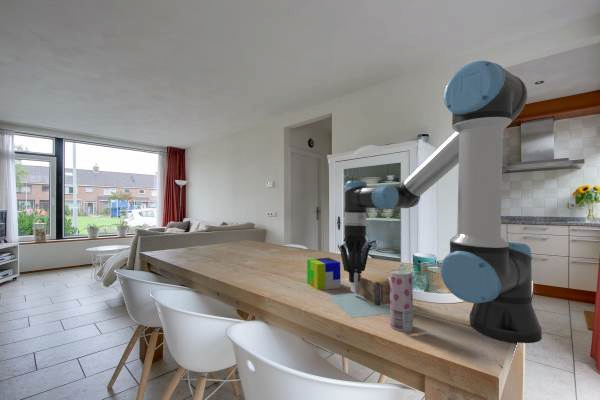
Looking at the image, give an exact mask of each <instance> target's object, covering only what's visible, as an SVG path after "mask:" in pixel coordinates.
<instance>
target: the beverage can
mask: <svg viewBox="0 0 600 400" xmlns="http://www.w3.org/2000/svg"><path fill="white" fill-rule="evenodd" d="M389 283H390V313H389V326H390V328H391V329H393V330H394V331H397V332H403V333H406V332H407V333H408V332H412V331H413V330H414V314H413V313H414V310H413V307H414V306H413V305H414V304H413V303H414V300H413V299H414V298H413V275H412V271H410V270H406V269H398V268H397V269H391V270H390V273H389Z"/></svg>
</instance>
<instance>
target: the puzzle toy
mask: <svg viewBox="0 0 600 400" xmlns="http://www.w3.org/2000/svg"><path fill="white" fill-rule="evenodd" d="M306 261H307V262H306V264H307V265H306V266H307V267H306V270H307V271H306V274H307V275H306V276H307V277H306V278H307V279H306V283H307V285H309V286H311V287H312V288H313V289H315V290H316V291H322V290H330V289H332V290H333V289H338V288H341V286H342V285H341V262H340V261H338V260H336V259H333V258H331V257H322V258H311V259H307V260H306Z"/></svg>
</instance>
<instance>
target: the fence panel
mask: <svg viewBox="0 0 600 400" xmlns="http://www.w3.org/2000/svg"><path fill="white" fill-rule="evenodd" d="M357 293H358V294H360V295H361V296H363V297H365V298H367V299H368V300H370V301H372V302H374V303H375V305H377V306H380V305H381V282H379V281H376V282H374V281H371V280H369V279H367V278H365V277H363V276H362V273H361V274H360V281H359V282H358V292H357Z"/></svg>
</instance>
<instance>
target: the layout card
mask: <svg viewBox="0 0 600 400" xmlns="http://www.w3.org/2000/svg"><path fill="white" fill-rule="evenodd" d="M327 297H328V298H329V299H330V300H331V301H333V303H334V304H336V305H337V306H338V307H339V308H340V309H341V310H343V311H344V312H345V313H346V314H347V315H348V316H350V318H352V319H355V318H362V317H369V316H370V317H371V316H378V315H385V314H390V303H387V304H382V303H381V305H380V306H377V305H375V303H374V302H372V301H370V300H368V299H367V298H365V297H363V296H361V295H360V294H358V293H354V292H349V293H339V294H330V295H327ZM417 310H418V308H417V307H414V306H413V311H417Z"/></svg>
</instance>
